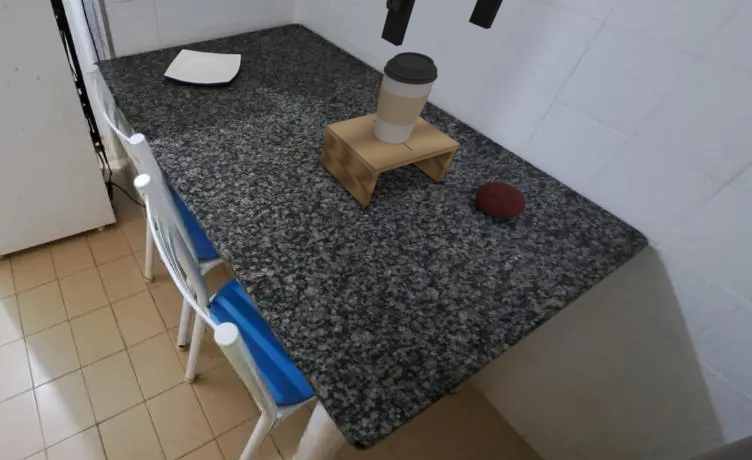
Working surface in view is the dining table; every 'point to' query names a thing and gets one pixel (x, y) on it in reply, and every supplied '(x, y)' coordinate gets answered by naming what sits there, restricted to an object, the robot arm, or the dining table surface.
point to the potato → (500, 200)
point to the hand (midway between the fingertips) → (436, 33)
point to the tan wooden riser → (381, 153)
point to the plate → (203, 68)
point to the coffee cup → (403, 95)
